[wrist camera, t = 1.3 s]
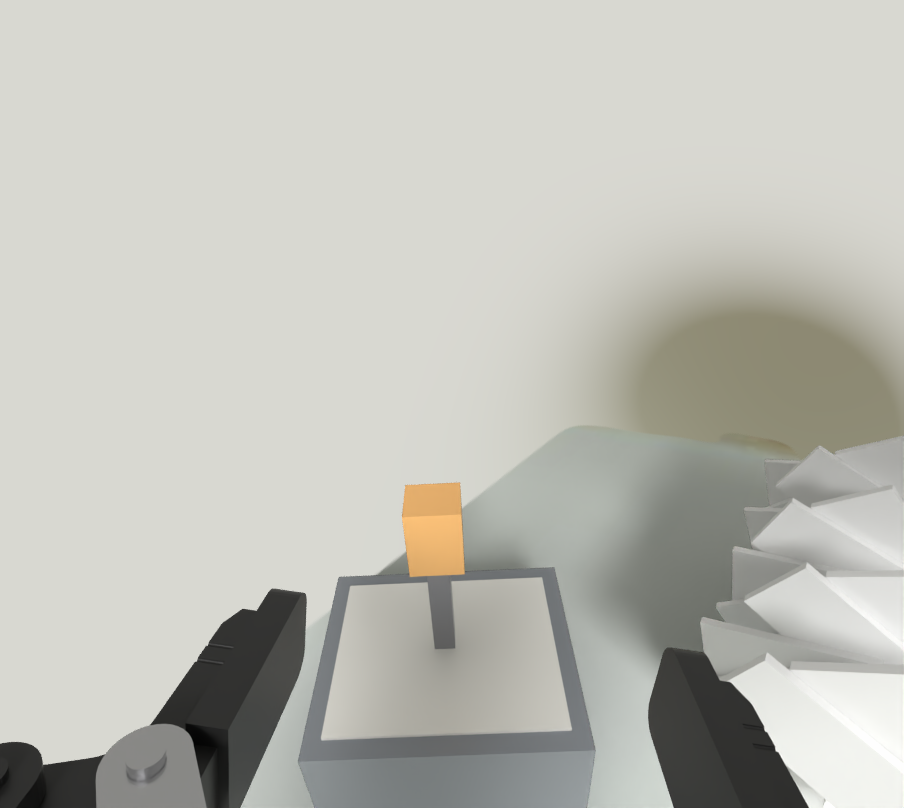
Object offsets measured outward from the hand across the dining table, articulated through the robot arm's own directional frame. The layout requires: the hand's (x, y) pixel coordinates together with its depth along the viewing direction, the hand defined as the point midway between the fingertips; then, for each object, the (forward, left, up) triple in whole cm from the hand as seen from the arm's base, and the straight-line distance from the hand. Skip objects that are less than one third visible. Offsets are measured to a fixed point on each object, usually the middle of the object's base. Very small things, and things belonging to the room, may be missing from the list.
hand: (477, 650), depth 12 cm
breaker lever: (-6, -12, -18) cm, 22 cm away
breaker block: (-6, -12, -26) cm, 29 cm away
